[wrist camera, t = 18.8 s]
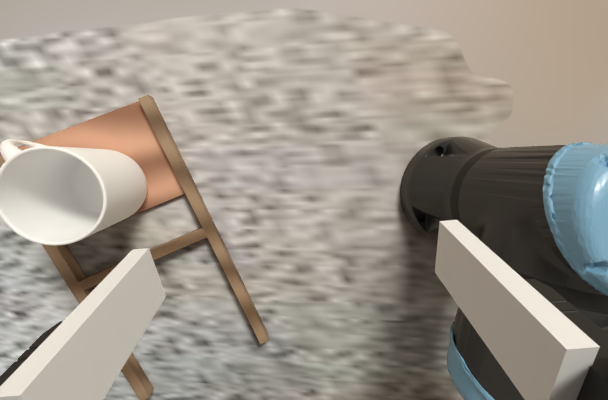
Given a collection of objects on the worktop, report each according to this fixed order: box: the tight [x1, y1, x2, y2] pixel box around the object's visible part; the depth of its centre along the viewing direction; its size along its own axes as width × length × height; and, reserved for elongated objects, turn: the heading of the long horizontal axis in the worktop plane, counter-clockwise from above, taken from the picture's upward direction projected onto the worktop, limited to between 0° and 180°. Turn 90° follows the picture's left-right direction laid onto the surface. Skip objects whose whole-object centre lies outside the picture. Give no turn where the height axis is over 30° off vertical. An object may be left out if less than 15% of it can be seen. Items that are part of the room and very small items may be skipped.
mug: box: [0, 139, 147, 246], centre depth 30 cm, size 9×12×11 cm
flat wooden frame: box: [0, 95, 269, 400], centre depth 37 cm, size 35×18×2 cm, turn 22°
